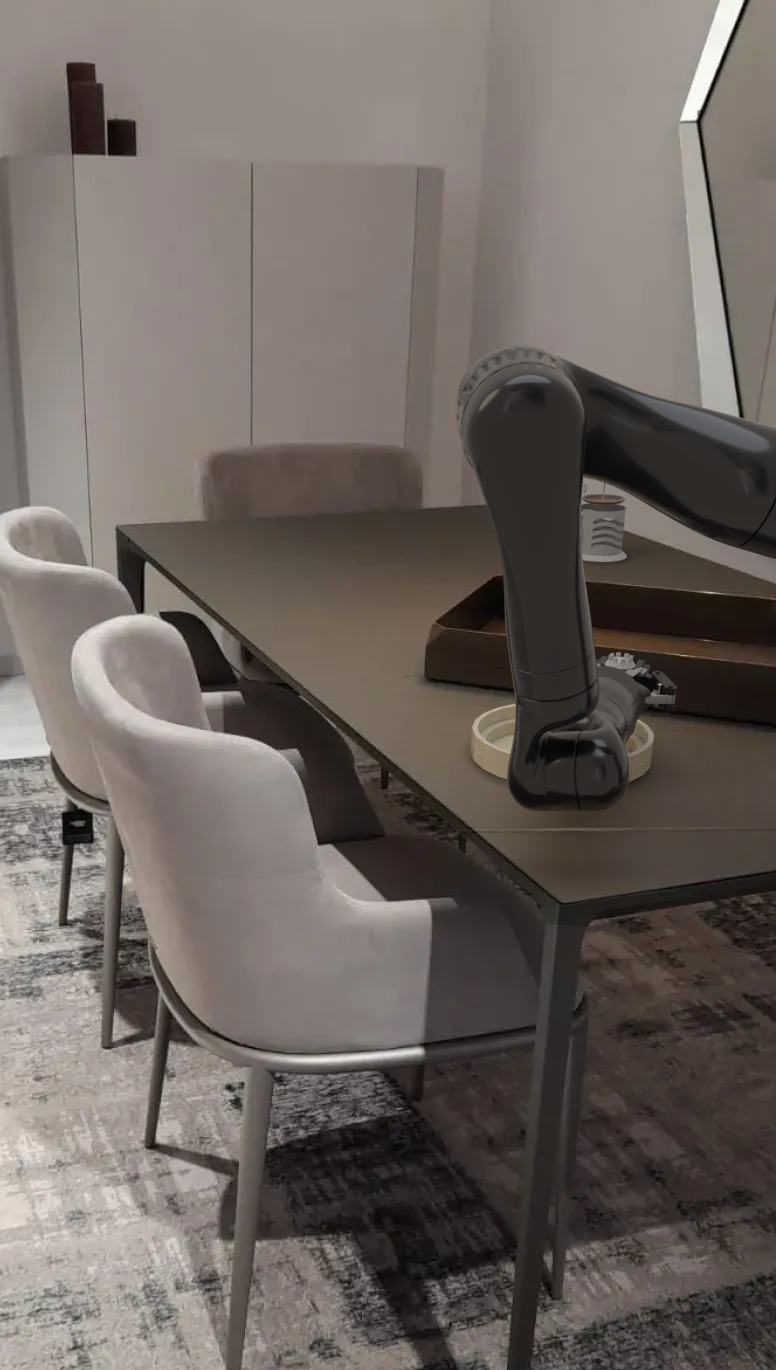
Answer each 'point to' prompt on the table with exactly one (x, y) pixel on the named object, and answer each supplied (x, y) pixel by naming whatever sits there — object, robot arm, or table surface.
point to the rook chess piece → (621, 661)
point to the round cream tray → (497, 737)
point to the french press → (602, 509)
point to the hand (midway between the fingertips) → (622, 667)
